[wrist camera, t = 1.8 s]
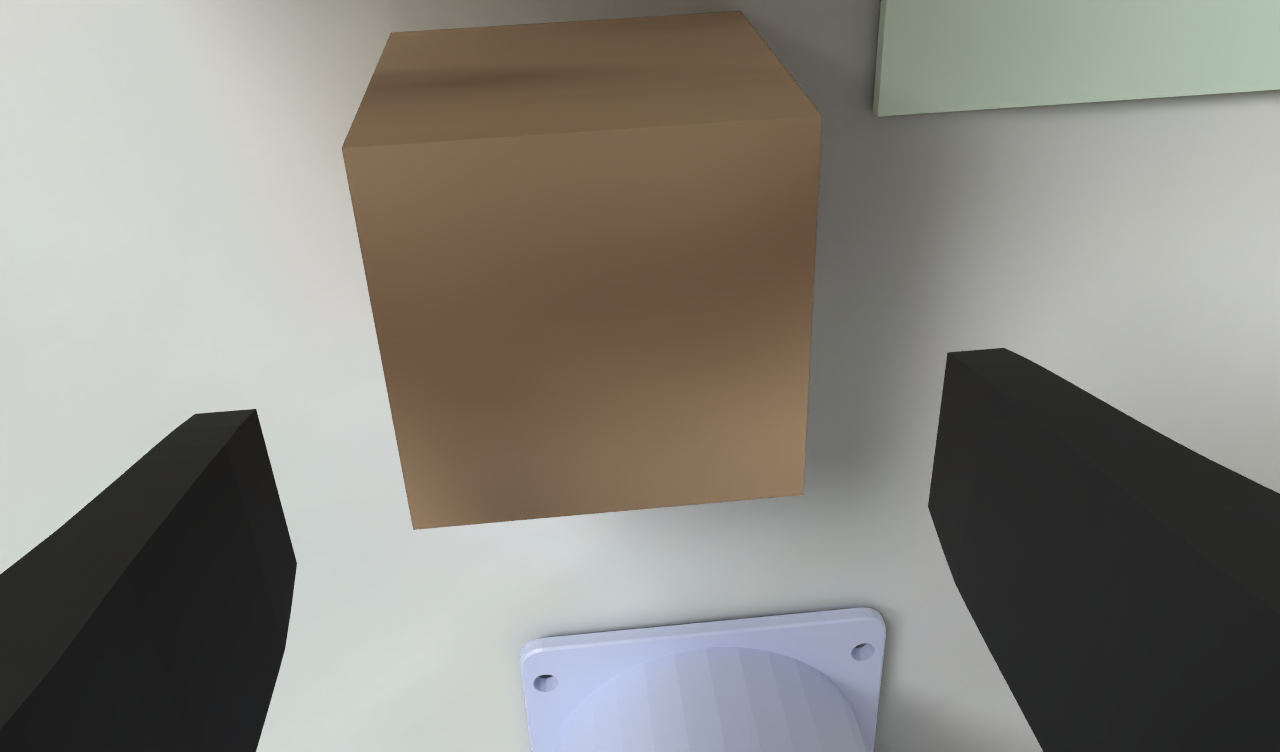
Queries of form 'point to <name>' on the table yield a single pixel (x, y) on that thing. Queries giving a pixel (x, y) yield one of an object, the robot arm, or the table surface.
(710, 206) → the walnut block
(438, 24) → the table surface
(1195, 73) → the sage pad
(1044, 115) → the table surface
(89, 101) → the table surface
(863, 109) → the table surface
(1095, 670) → the robot arm
